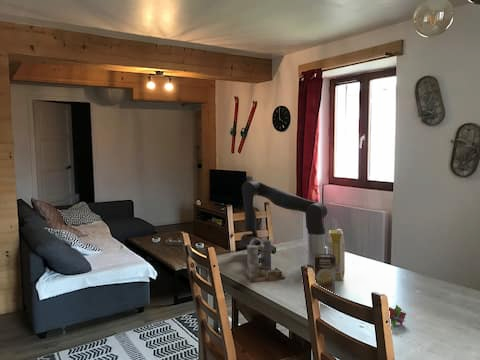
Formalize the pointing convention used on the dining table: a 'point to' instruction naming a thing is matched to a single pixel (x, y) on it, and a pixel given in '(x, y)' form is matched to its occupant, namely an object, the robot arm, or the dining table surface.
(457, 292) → the dining table surface
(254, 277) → the hinge jig
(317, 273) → the coffee box
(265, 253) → the grey clamp fixture
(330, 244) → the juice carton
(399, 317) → the geometric puzzle
